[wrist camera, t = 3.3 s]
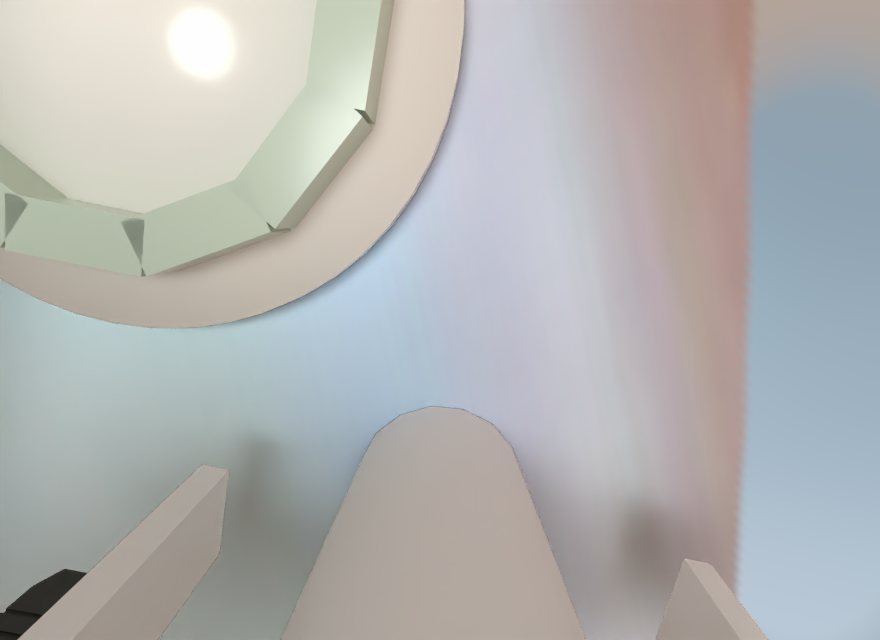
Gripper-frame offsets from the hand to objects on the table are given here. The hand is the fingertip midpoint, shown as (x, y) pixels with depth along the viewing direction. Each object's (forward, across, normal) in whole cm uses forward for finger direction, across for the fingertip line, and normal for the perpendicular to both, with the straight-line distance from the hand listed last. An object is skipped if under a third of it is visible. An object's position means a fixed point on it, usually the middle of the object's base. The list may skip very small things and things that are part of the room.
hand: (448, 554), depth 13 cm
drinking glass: (+4, 0, 0) cm, 4 cm away
